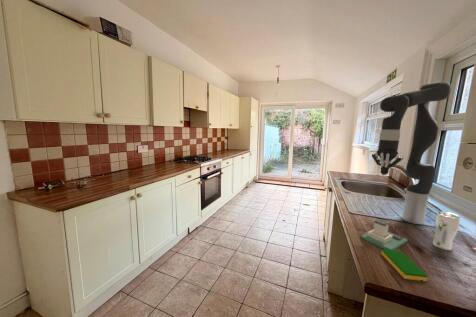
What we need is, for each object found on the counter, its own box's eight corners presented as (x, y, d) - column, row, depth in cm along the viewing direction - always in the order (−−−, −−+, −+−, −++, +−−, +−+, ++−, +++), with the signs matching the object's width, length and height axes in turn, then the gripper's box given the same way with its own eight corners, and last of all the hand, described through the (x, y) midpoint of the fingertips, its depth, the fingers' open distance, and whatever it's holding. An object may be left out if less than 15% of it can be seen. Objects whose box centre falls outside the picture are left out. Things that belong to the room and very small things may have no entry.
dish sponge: (399, 256, 79) (400, 250, 79) (427, 282, 66) (428, 276, 65) (380, 254, 80) (381, 248, 80) (404, 279, 66) (405, 273, 66)
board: (378, 229, 99) (378, 224, 98) (407, 241, 89) (408, 235, 88) (360, 237, 91) (361, 231, 91) (390, 252, 81) (391, 245, 80)
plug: (376, 234, 92) (379, 218, 91) (386, 238, 89) (389, 222, 88) (372, 236, 90) (374, 220, 89) (382, 241, 87) (385, 224, 86)
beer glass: (450, 253, 81) (457, 219, 79) (428, 244, 87) (434, 212, 85) (456, 248, 85) (463, 216, 82) (434, 240, 91) (440, 210, 88)
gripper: (409, 140, 89) (403, 176, 92) (377, 138, 100) (373, 171, 103) (402, 140, 85) (396, 178, 88) (370, 138, 96) (365, 172, 99)
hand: (383, 174), depth 95 cm, fingers closed
